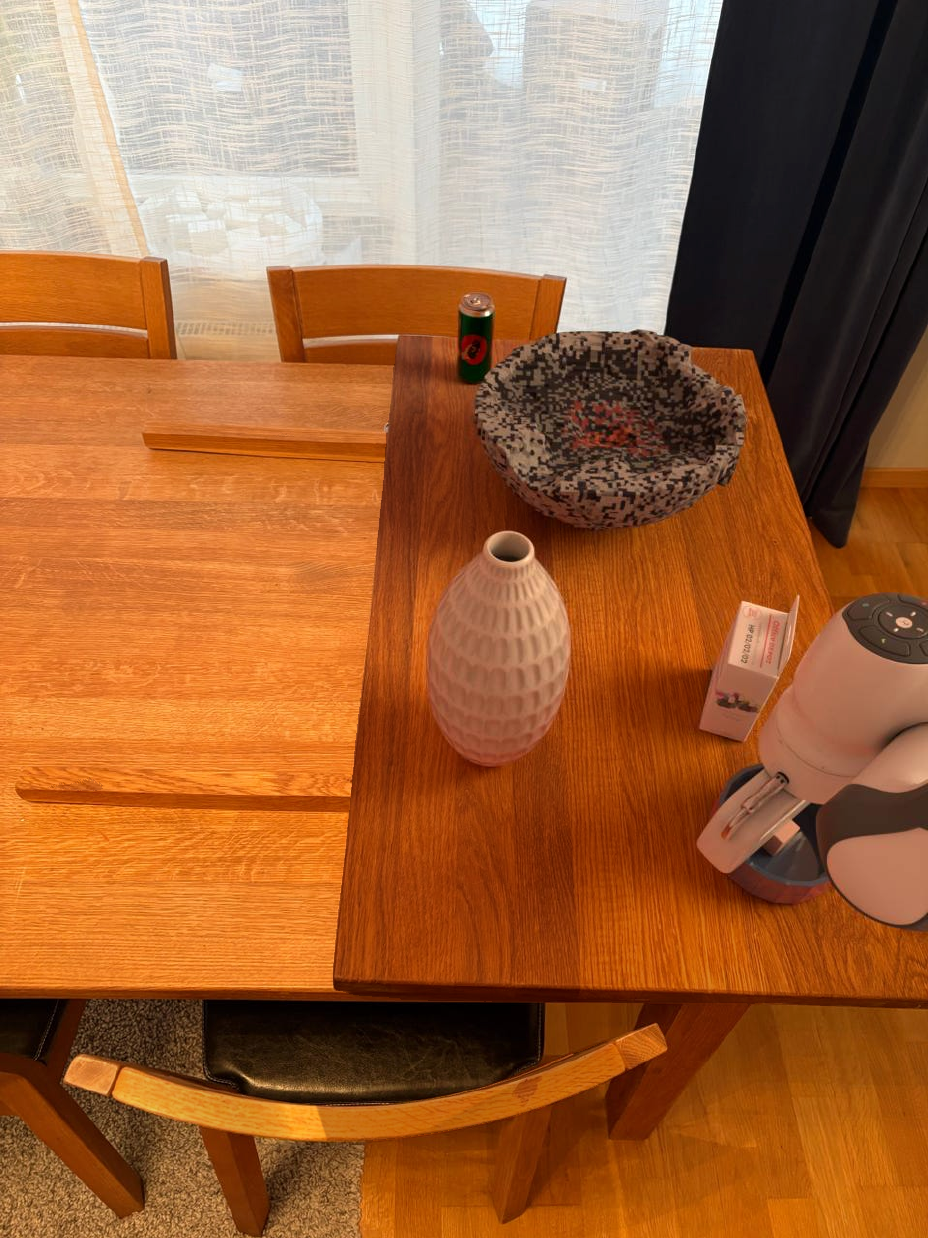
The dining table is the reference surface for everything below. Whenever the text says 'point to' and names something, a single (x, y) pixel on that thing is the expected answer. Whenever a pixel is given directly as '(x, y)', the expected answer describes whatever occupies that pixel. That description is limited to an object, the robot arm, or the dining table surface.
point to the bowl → (608, 427)
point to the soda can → (475, 337)
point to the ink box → (747, 669)
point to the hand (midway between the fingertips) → (766, 822)
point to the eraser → (781, 838)
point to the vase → (498, 653)
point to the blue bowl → (780, 856)
